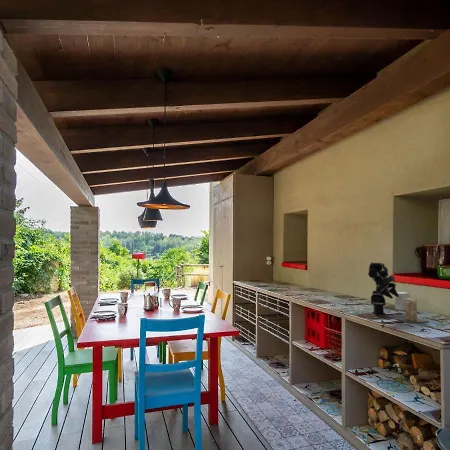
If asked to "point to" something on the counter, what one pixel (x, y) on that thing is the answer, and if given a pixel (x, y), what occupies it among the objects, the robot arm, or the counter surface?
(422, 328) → the counter surface
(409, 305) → the birch post
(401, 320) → the post plate
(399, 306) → the supplement box
